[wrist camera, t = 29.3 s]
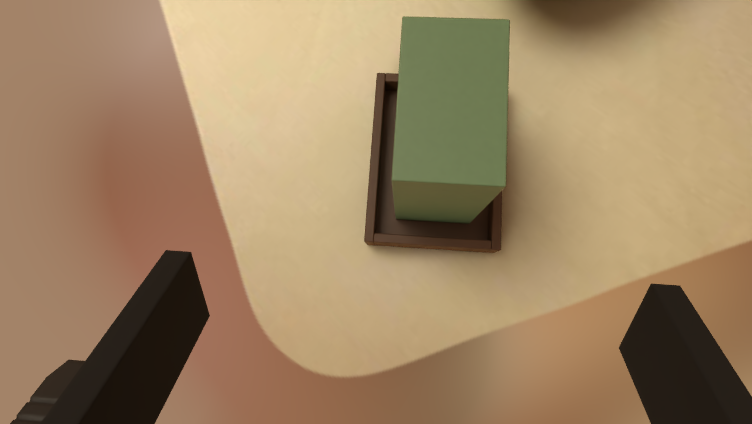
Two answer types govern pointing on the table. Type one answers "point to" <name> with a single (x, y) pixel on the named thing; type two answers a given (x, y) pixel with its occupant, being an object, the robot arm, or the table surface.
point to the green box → (450, 118)
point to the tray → (380, 201)
